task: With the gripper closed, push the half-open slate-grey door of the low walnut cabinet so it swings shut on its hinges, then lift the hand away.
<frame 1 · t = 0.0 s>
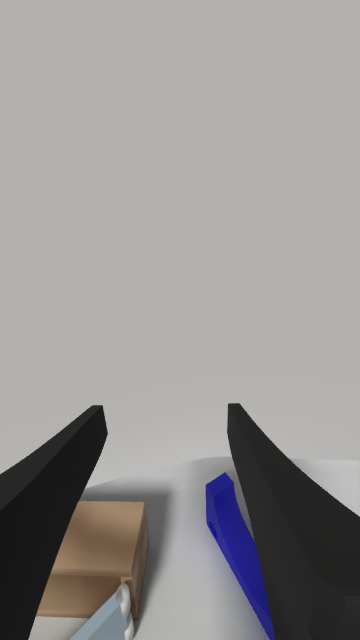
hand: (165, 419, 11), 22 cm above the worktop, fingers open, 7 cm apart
cable clip: (259, 576, 19), on the worktop
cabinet: (67, 574, 19), on the worktop
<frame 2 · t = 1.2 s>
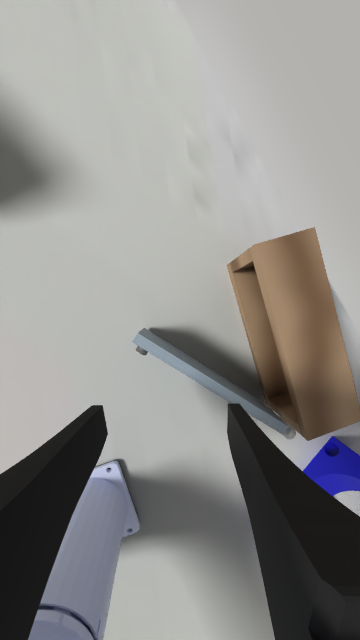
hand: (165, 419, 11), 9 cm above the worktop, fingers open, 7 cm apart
cable clip: (309, 483, 22), on the worktop
door: (209, 381, 17), point 3 cm above the worktop, hinge at 40.0°
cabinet: (268, 329, 21), on the worktop
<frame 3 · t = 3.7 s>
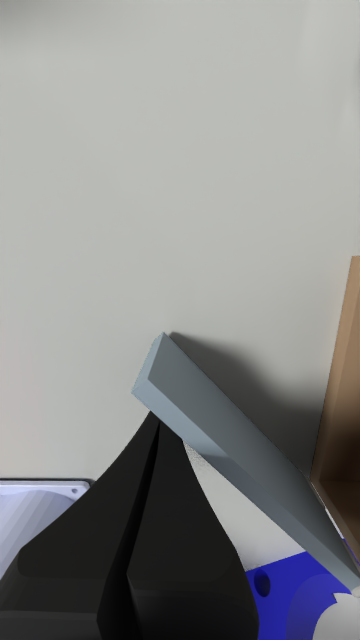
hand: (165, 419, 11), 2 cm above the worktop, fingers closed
cable clip: (313, 558, 17), on the worktop
door: (248, 457, 10), point 3 cm above the worktop, hinge at 40.0°, touching gripper
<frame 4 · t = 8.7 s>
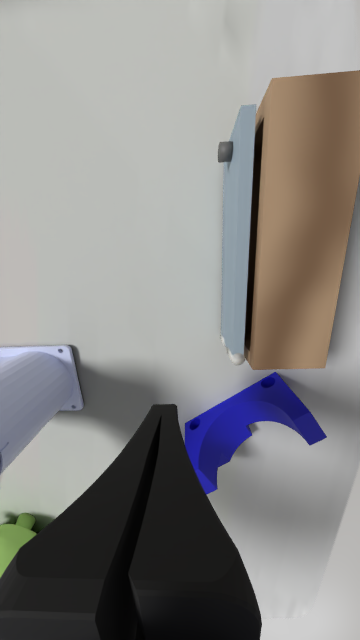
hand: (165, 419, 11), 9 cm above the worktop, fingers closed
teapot: (34, 539, 29), on the worktop
cable clip: (237, 410, 22), on the worktop
door: (228, 259, 14), point 3 cm above the worktop, hinge at -0.1°
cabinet: (263, 255, 17), on the worktop
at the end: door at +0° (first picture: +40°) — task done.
